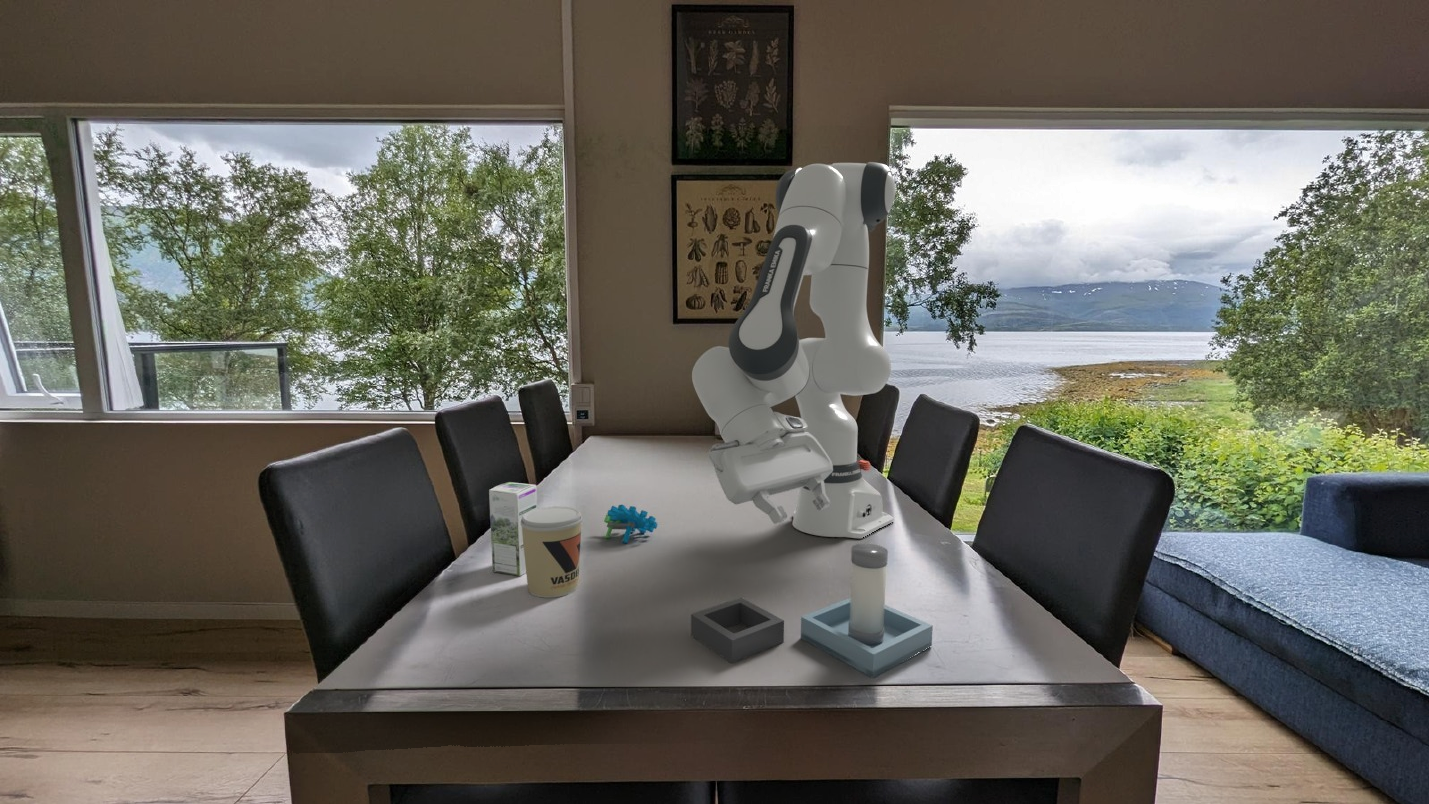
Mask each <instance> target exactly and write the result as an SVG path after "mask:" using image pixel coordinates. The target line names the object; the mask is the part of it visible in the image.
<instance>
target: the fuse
mask: <svg viewBox="0 0 1429 804" xmlns="http://www.w3.org/2000/svg"><path fill="white" fill-rule="evenodd" d="M888 553H889V550H888V549H887V548H885V547H884V546H882V545H878V544H874V543H873V544H872V543H858V544H853V546H851V550H850V562H851V568H850V569H851V571H850V593H849V595H850V596H849V598H850V620H849V626H848V636H849V637H851V638H853V639H855V640H857V641H859V642H861V643H863V644H865V645H867V646H875V645H879V644H881V643H882V642H883V641H884V608H885V605H886V581H887V566H888V555H889V554H888Z"/></svg>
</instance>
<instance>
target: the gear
mask: <svg viewBox="0 0 1429 804" xmlns="http://www.w3.org/2000/svg"><path fill="white" fill-rule="evenodd" d="M647 516H648V511H646V510H640V512H638V511H637V507H636V506H634V505H632V506H631V505H629V508H627V507H626V506H625V504H619V505H618V507H617V506H616V505H612V506H611V507H610V509H608V510H607V514H606V515H605V517H604V521H603V522H604V523H605V524H607V525H606V528H607V531H606V534H605V535H604V536H605V539H606V540H607V539H609V538H610V536H611V534H612V531H613V530H625V531H624V535H623V538H622V540H621V541H622V543H624V544H628V542H629V539H630V536H631V533H632V532H636V530H637V531H639V533H641V534H645V533H647V532H649V533H654V529H655V530H656V529H657V528H658V522H656V518H655V517H654V516H653V515H649V517H647ZM609 540H610V539H609Z"/></svg>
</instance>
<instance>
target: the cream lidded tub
mask: <svg viewBox="0 0 1429 804" xmlns="http://www.w3.org/2000/svg"><path fill="white" fill-rule="evenodd" d="M582 522H583V516H582V514H581V512H580V510H578V509H577V508H573V507H570V506H545V507H540V508H539V507H537V509H534V510H531V511H528V512H526V513H525V514H524V515H523V517H522V519H521V526H522V535H523V546H524V556H525V565H526V573H525V574H526V583H527V588H528V589H527V590H528V593H530V595H532V596H533V597H537V598H543V599H544V598H545V599H546V598H547V599H550V598H560V597H563V596H564V597H565V596H567V595H569V594H571V593H574V592H575V591H576V590H577V589H578V586H579V582H580V581H579V577H580V576H579V575H580V559H581V541H582V539H581V538H582Z"/></svg>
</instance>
